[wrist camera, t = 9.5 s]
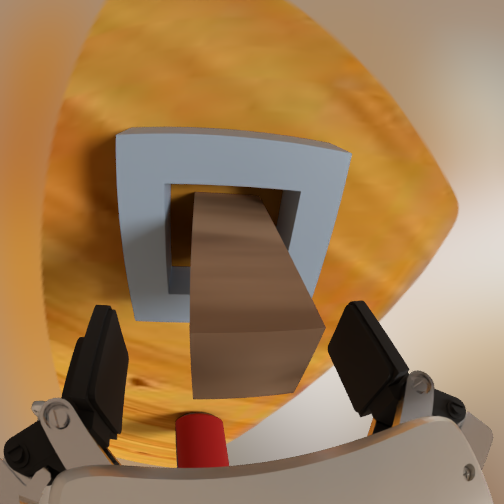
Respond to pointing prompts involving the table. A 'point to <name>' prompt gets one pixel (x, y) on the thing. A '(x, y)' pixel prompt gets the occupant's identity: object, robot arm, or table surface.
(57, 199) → the table surface
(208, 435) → the beverage can
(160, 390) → the table surface
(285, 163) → the grey square frame
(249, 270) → the walnut peg
